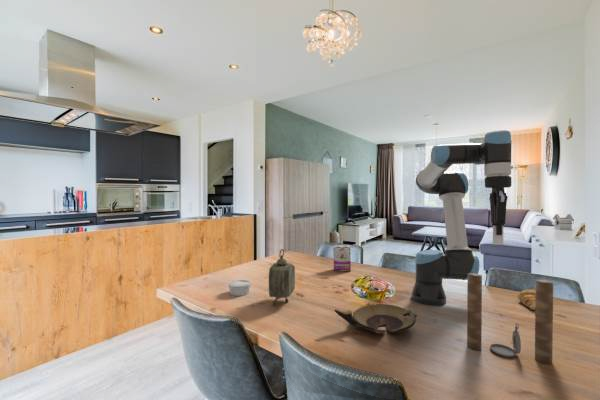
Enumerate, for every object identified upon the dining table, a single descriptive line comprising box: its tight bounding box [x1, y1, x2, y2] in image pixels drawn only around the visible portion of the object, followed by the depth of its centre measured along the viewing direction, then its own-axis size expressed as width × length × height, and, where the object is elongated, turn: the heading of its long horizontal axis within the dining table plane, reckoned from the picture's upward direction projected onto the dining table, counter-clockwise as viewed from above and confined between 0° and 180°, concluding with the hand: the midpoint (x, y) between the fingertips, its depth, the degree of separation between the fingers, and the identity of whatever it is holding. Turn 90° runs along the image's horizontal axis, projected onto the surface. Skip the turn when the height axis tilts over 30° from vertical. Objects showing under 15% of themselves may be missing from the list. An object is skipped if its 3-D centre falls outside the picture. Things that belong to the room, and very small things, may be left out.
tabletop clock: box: [268, 248, 296, 307], centre depth 130 cm, size 14×9×25 cm, turn 168°
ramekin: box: [228, 279, 252, 297], centre depth 143 cm, size 11×11×5 cm
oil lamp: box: [334, 303, 418, 334], centre depth 106 cm, size 22×30×8 cm
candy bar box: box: [333, 245, 352, 271], centre depth 185 cm, size 11×5×16 cm, turn 80°
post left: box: [466, 273, 483, 351], centre depth 91 cm, size 4×4×24 cm
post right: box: [534, 279, 554, 365], centre depth 84 cm, size 4×4×24 cm
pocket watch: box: [489, 323, 522, 358], centre depth 87 cm, size 8×8×10 cm
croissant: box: [517, 288, 536, 311], centre depth 127 cm, size 21×10×8 cm, turn 145°
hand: (498, 244), depth 95 cm, fingers closed
